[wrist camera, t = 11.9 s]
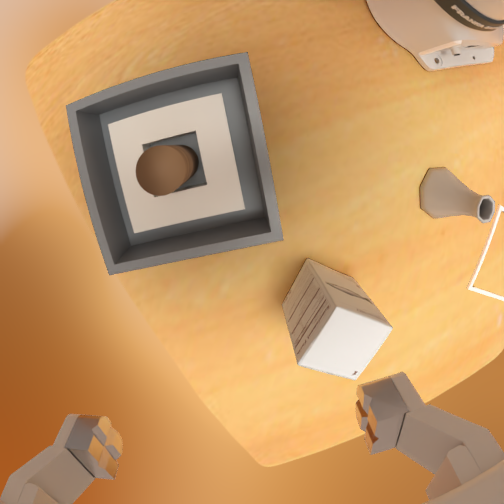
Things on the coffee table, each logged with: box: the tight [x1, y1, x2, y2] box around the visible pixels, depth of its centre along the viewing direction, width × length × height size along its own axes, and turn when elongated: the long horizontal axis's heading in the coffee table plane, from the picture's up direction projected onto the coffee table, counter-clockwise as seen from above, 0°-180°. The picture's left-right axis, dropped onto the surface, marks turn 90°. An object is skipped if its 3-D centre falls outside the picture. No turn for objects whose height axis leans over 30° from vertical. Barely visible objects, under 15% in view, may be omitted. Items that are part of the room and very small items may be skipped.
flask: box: [420, 167, 495, 223], centre depth 32 cm, size 7×7×10 cm
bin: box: [66, 52, 283, 275], centre depth 30 cm, size 18×18×7 cm
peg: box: [136, 145, 199, 196], centre depth 28 cm, size 4×4×10 cm
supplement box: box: [282, 258, 393, 380], centre depth 34 cm, size 7×7×13 cm
